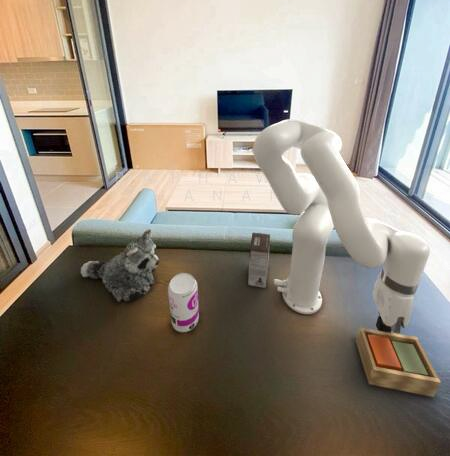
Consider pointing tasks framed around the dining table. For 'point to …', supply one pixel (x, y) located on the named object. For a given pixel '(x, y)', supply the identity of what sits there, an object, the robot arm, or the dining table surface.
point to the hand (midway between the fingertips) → (382, 329)
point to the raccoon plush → (127, 269)
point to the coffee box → (258, 259)
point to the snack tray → (396, 362)
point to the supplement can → (183, 302)
